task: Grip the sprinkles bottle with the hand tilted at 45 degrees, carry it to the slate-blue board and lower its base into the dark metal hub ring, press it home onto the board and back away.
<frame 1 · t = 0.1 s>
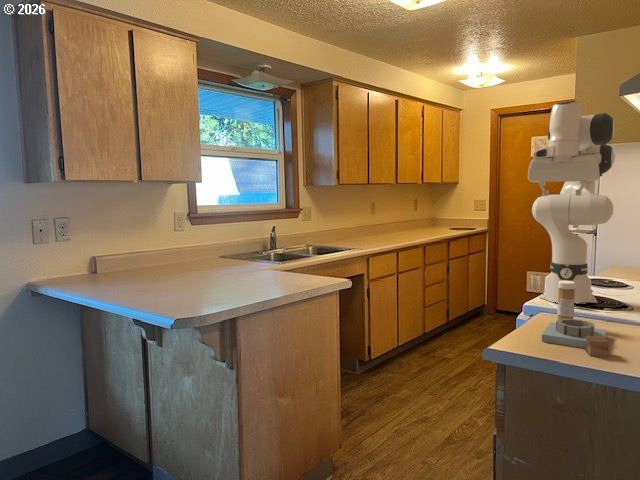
hand: (561, 195, 148), 39 cm above the worktop, tool pointing down, fingers open, 8 cm apart
walnut block: (596, 354, 116), on the worktop
hub board: (574, 339, 127), on the worktop
sprinkles bottle: (565, 326, 140), on the worktop
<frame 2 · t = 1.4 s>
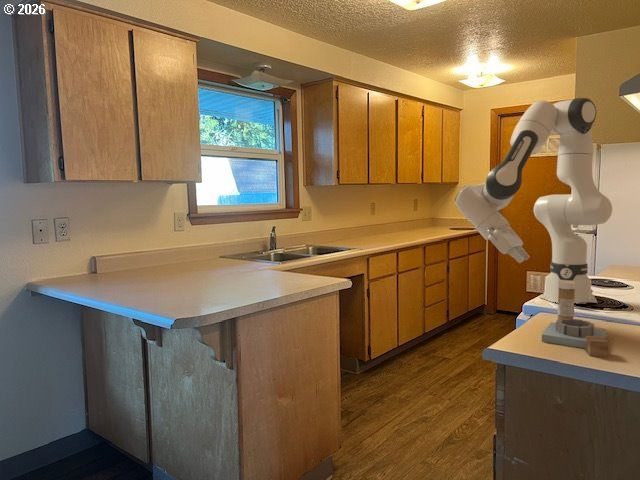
hand: (524, 260, 145), 19 cm above the worktop, tool tilted 45°, fingers open, 8 cm apart
nothing on the worktop moved.
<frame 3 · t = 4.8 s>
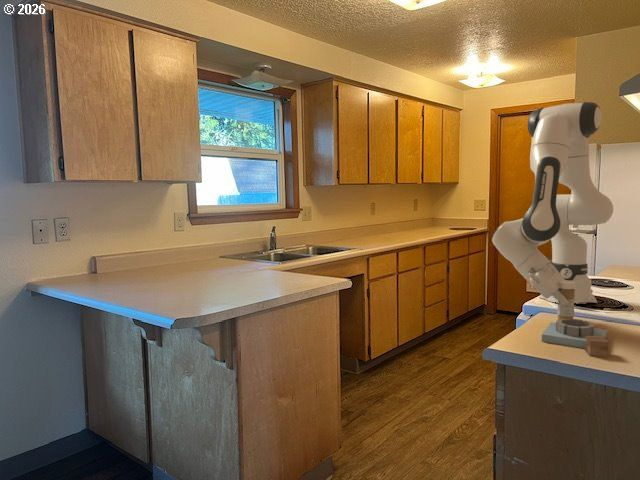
hand: (568, 301, 139), 7 cm above the worktop, tool tilted 45°, fingers closed on sprinkles bottle, 4 cm apart
sprinkles bottle: (565, 326, 140), on the worktop, touching gripper
everything else where it was.
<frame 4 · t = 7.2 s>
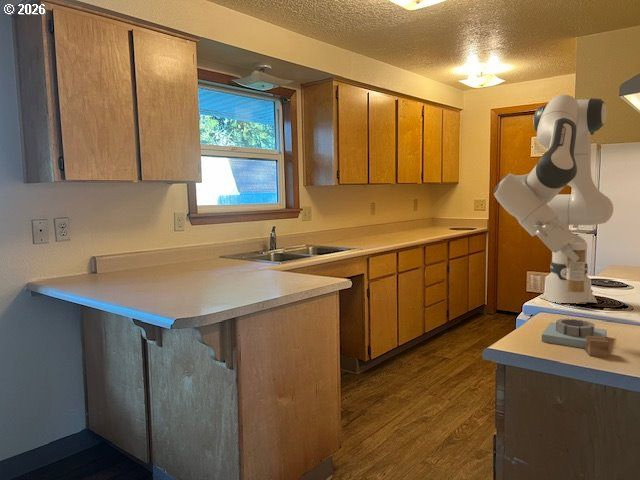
hand: (578, 258, 125), 22 cm above the worktop, tool tilted 45°, fingers closed on sprinkles bottle, 4 cm apart
sprinkles bottle: (575, 292, 126), point 13 cm above the worktop, touching gripper
everything else where it was.
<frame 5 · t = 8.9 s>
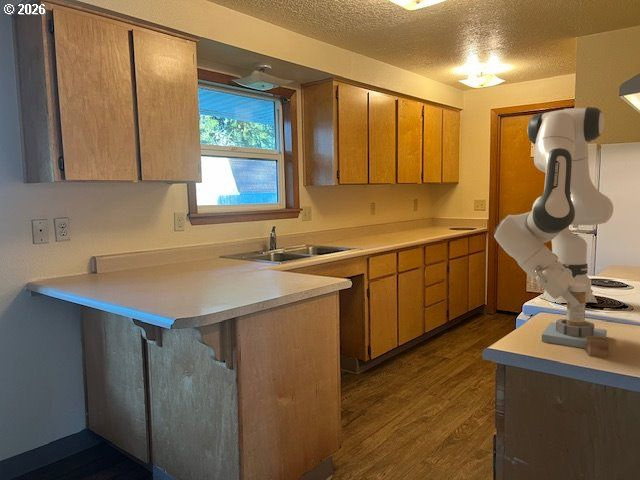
hand: (578, 302, 126), 10 cm above the worktop, tool tilted 45°, fingers closed on sprinkles bottle, 4 cm apart
sprinkles bottle: (575, 332, 127), point 2 cm above the worktop, touching gripper, hub board
everything else where it was.
when the fingers open (10 cm above the worktop, at t = 9.3 s): sprinkles bottle stays where it is, resting on hub board.
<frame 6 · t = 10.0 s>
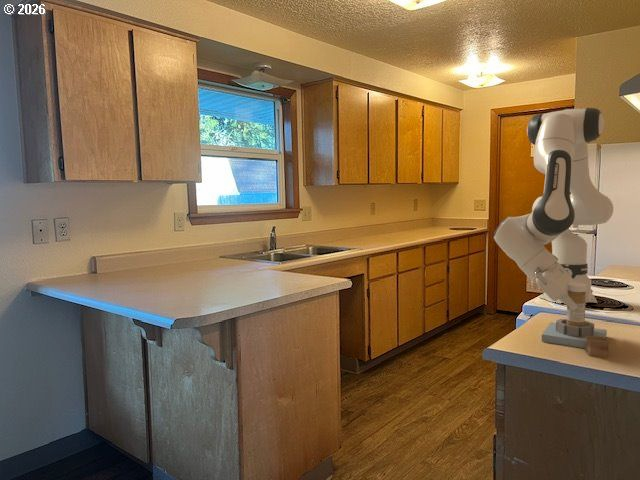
hand: (578, 304, 126), 10 cm above the worktop, tool tilted 45°, fingers open, 8 cm apart
sprinkles bottle: (575, 332, 127), point 2 cm above the worktop, touching hub board
everything else where it was.
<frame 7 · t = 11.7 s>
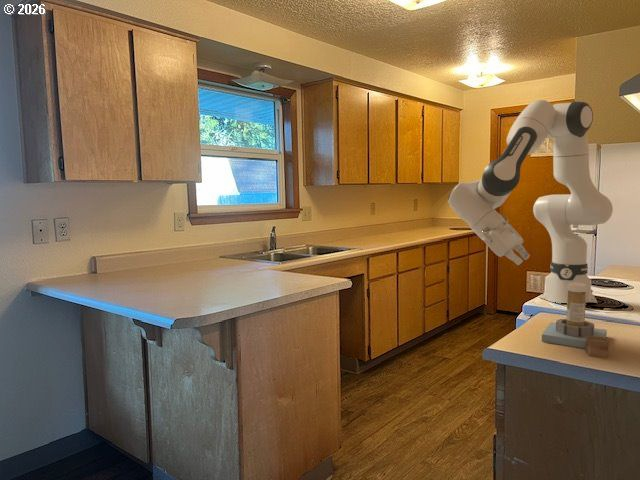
hand: (524, 260, 135), 20 cm above the worktop, tool tilted 45°, fingers open, 8 cm apart
nothing on the worktop moved.
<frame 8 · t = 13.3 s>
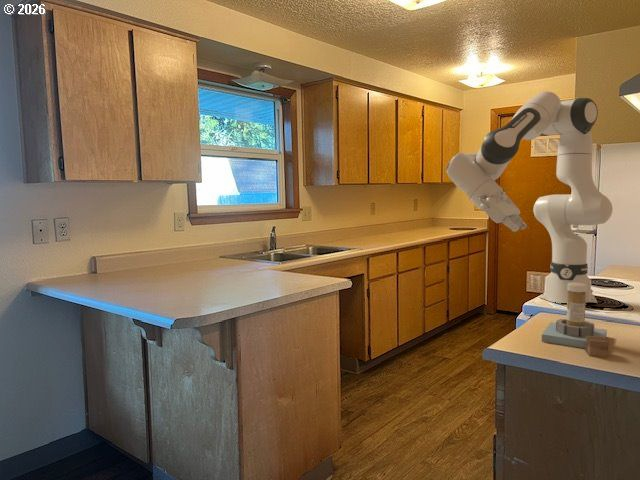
hand: (521, 229, 136), 29 cm above the worktop, tool tilted 45°, fingers open, 8 cm apart
nothing on the worktop moved.
at the end: sprinkles bottle 0.1 cm from the hub board (horizontally); sprinkles bottle point 1.8 cm above the worktop; sprinkles bottle tilted 0° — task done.
